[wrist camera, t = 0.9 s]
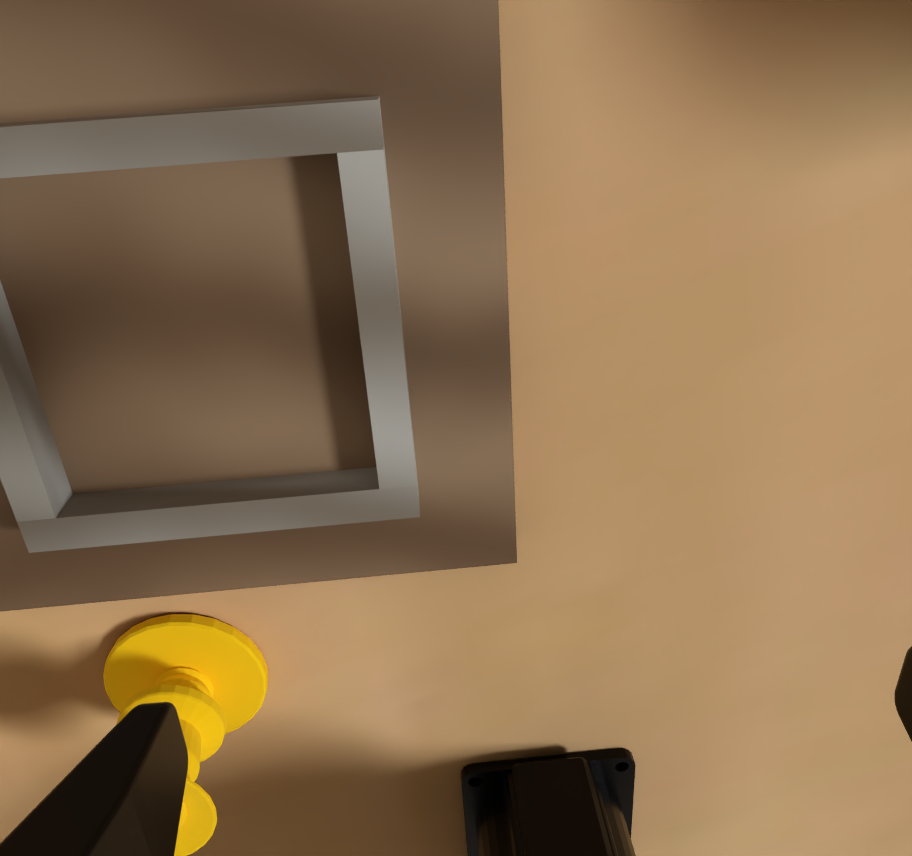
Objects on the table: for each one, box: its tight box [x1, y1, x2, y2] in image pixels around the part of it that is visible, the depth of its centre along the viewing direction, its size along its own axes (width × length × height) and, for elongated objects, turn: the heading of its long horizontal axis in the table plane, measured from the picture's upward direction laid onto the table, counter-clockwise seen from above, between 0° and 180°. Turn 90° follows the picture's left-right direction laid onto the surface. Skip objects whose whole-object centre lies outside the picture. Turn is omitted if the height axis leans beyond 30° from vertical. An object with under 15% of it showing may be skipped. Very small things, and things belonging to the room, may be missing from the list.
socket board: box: [0, 0, 517, 611], centre depth 19 cm, size 16×16×2 cm
